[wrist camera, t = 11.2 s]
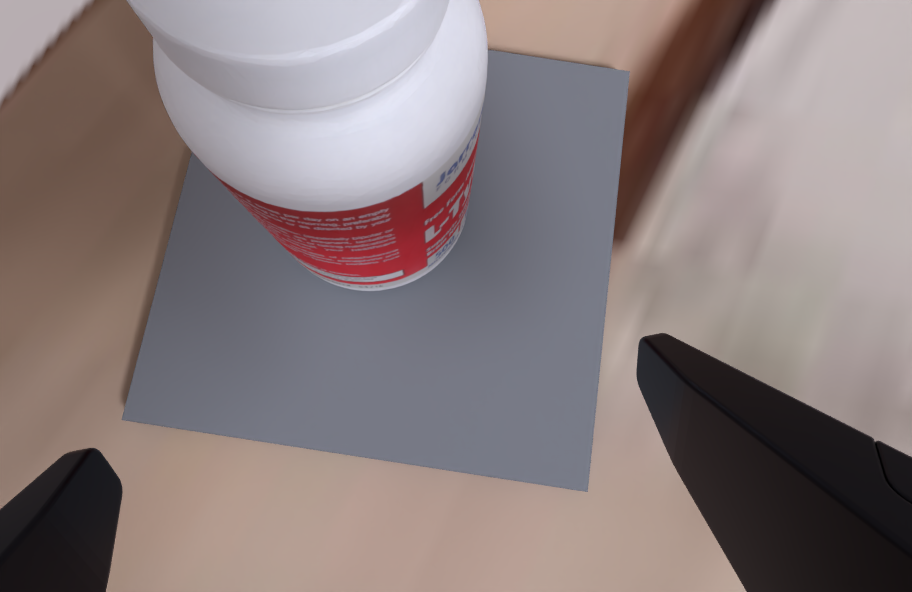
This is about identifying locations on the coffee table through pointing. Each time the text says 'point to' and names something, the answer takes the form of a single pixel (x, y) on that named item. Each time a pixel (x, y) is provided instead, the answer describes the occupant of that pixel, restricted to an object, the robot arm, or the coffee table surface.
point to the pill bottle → (332, 121)
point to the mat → (413, 307)
